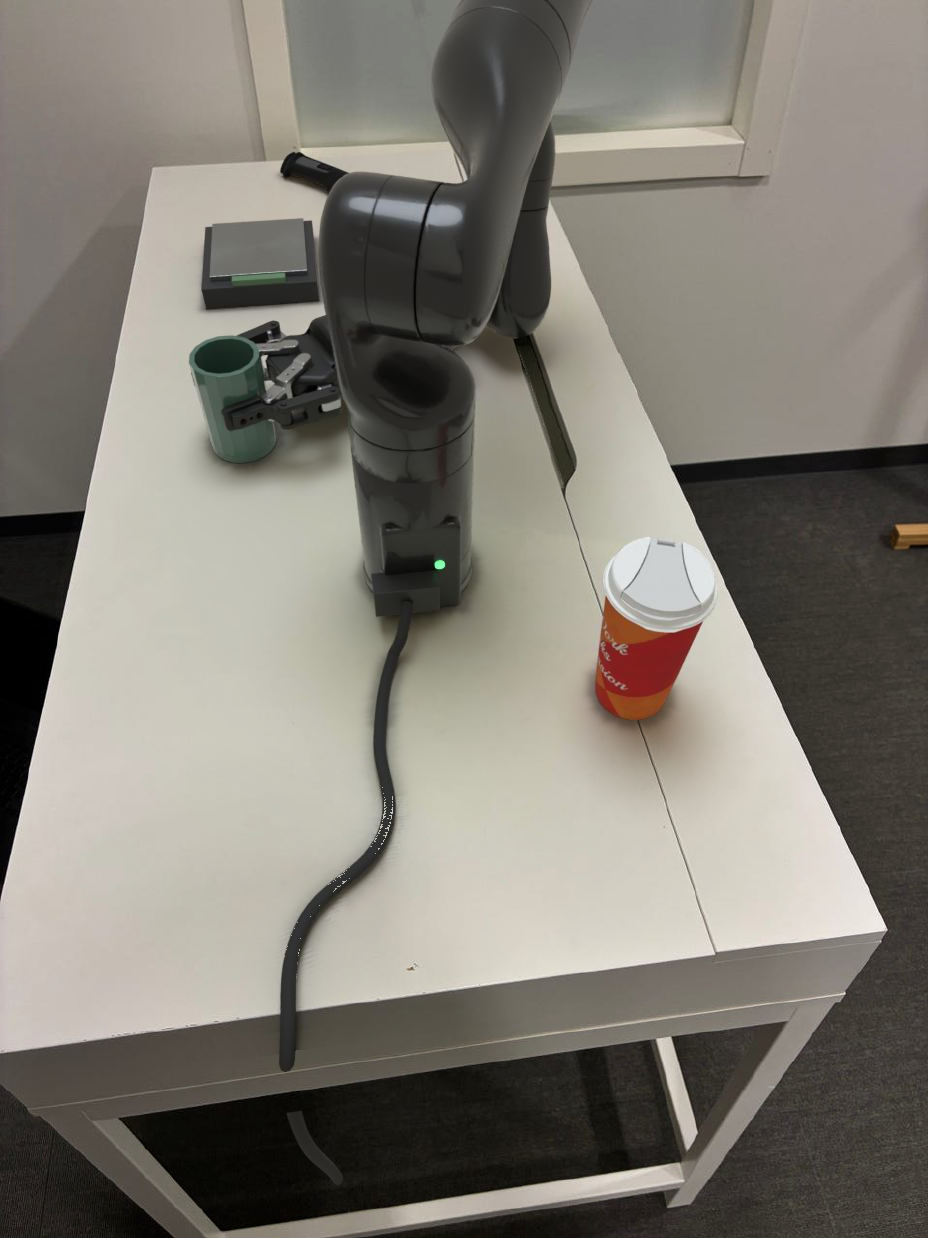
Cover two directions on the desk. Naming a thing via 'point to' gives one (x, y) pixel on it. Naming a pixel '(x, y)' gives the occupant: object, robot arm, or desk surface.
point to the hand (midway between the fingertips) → (209, 400)
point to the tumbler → (231, 395)
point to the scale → (259, 263)
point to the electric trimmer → (311, 170)
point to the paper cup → (650, 622)
